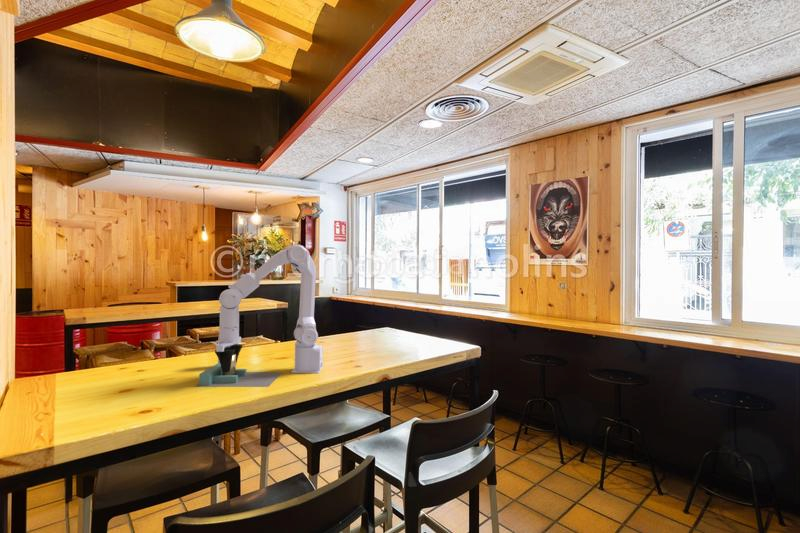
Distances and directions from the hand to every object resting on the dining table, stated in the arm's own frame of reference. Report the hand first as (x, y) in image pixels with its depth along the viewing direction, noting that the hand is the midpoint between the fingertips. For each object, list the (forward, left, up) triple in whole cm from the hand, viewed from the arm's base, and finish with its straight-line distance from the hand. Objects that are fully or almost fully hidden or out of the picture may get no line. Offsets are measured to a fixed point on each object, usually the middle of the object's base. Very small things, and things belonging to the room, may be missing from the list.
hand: (228, 369), depth 124 cm
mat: (-4, 0, -3) cm, 5 cm away
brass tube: (0, 0, -2) cm, 2 cm away
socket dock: (0, 0, -3) cm, 3 cm away
